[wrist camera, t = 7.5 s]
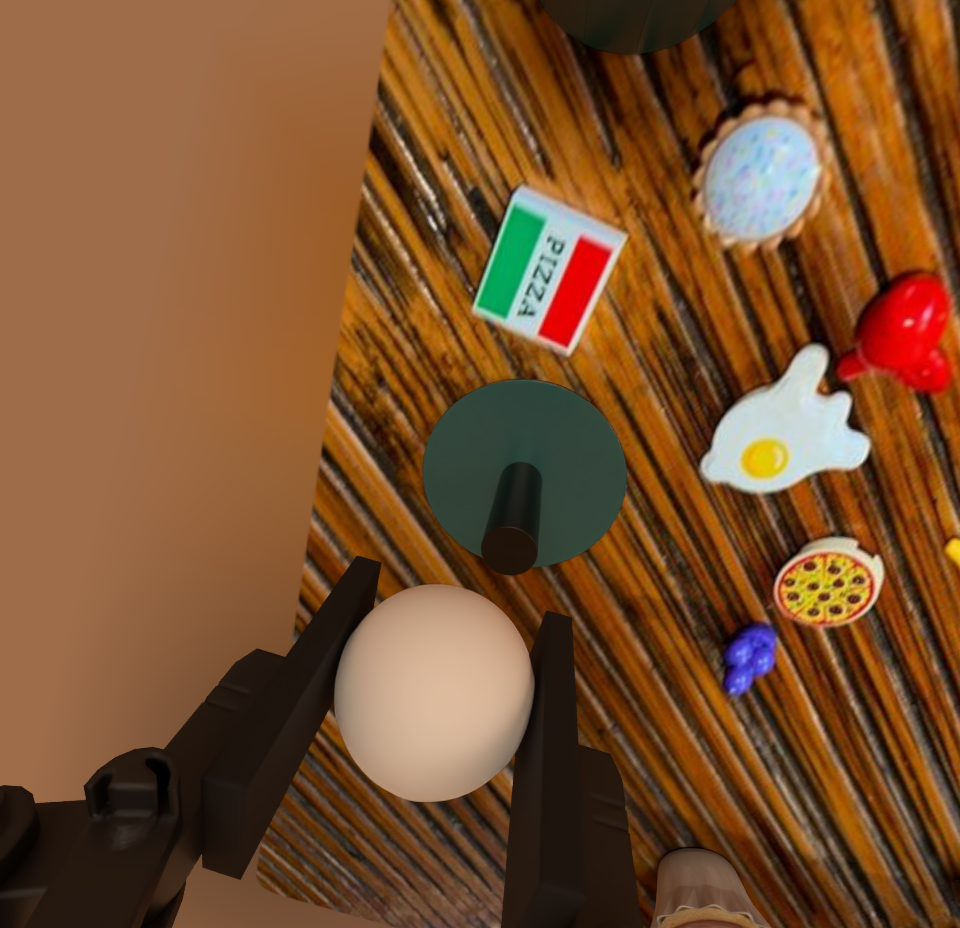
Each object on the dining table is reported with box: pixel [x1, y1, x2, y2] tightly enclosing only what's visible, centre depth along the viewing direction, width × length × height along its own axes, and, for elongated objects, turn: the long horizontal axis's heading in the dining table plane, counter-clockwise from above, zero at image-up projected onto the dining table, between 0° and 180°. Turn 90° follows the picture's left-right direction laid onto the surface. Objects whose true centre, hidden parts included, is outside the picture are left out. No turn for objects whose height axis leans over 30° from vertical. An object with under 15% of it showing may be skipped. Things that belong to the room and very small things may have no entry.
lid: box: [423, 378, 627, 575], centre depth 25 cm, size 12×12×9 cm
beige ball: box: [334, 584, 535, 802], centre depth 12 cm, size 5×5×5 cm
